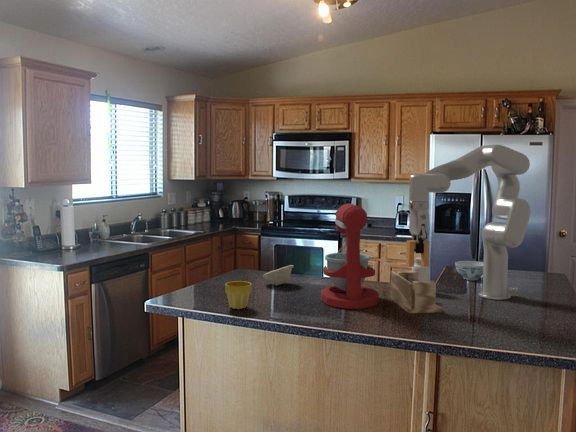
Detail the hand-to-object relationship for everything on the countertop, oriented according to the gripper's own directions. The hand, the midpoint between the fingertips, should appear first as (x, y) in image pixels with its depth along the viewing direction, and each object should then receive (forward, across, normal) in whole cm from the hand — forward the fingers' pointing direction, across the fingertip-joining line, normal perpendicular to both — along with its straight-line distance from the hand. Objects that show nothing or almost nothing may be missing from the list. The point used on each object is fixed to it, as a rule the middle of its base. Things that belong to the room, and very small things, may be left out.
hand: (417, 251), depth 206 cm
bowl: (+22, +45, +51) cm, 71 cm away
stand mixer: (+22, +12, +24) cm, 35 cm away
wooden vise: (+21, +1, 0) cm, 21 cm away
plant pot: (+22, +6, +70) cm, 74 cm away
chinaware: (+21, +44, -44) cm, 66 cm away
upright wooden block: (+6, 0, 0) cm, 6 cm away
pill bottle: (+22, +22, -10) cm, 32 cm away
